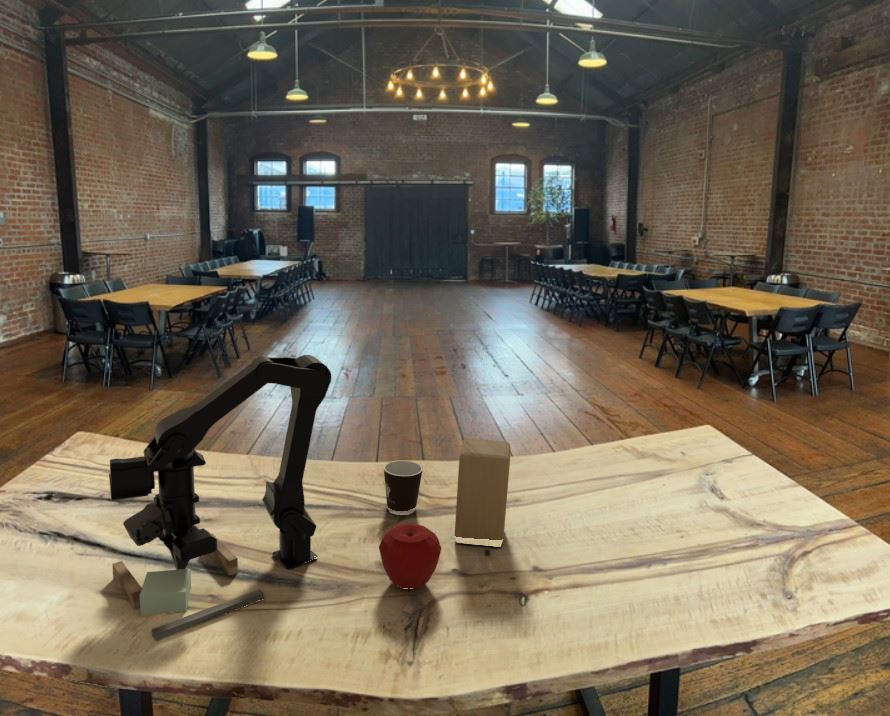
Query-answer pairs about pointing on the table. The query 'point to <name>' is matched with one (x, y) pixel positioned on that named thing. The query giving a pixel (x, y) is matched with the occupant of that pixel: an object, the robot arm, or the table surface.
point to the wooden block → (482, 489)
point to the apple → (409, 554)
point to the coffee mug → (402, 484)
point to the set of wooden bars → (231, 567)
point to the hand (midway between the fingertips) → (180, 571)
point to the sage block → (165, 592)
